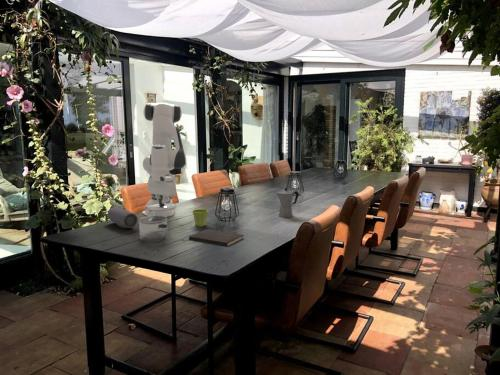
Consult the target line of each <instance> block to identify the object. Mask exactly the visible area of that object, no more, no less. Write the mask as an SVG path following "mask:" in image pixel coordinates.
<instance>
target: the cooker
mask: <svg viewBox="0 0 500 375" xmlns="http://www.w3.org/2000/svg"><path fill="white" fill-rule="evenodd" d="M138 228H139V230H138V231H139V240H140V241H142V242H148V243H149V242H151V243H152V242H161V241H164V240H167V239H168V237H169V236H168V217H165V216H146V215H145V216H143V217H140V218H138Z"/></svg>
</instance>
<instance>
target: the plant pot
mask: <svg viewBox="0 0 500 375" xmlns="http://www.w3.org/2000/svg"><path fill="white" fill-rule="evenodd" d="M191 212H192V214H193V218H194V224H195V225H194V226H196V227H205V226H207V221H208V213H209V210H208V209H205V208H197V209H192V210H191Z"/></svg>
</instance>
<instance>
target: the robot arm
mask: <svg viewBox="0 0 500 375" xmlns="http://www.w3.org/2000/svg"><path fill="white" fill-rule="evenodd" d="M144 105H145V106H144V107H143V115H144V119H146V121H149V122H152V142H151V143H152V146H151V151H150V154H149V155H148V156H146V157H145V158H143V160H142V168H143V170H144V171H145V172H146V173H147V174H148V175H149V176H148V180H147V189H146V190H147V192H148V193H149V194H150V196H151V197H150V198H151V199H150V200H149V201H147V203H146V204H145V210H143V211H141V214H143V215H144V216H145V217H146V216H165V217H167V218H168V217H171V216H174V215H175V214H176V211H175V209H171V210H164V211H153V210H148V208H147V207H148V206H150V205H154V204H159V199H160V198H163V200H162V204H174V202H173V200H172V197H175V196H176V195H177V188H176V187H177V184H176V180H177V178H176V176H175V175H173V174H172V173H170V171H172V170H174V169H177V170H179V169H180V170H181V169H183V168H184V167H185V166H186V164H187V156H186V153H185V151H184V146H183V140H182V136H181V133H180V130H179V126H176V125H175V123H178V122H179V121H180V120H181V119H182V117H183V116H182V114H183V112H182V108H181V107H180V105H178V104H175V103H174V104H172V103H167V102H158V103H157V102H155V103H153V102H148V103H146V104H144ZM172 141H173V142H174V146H175V149H172V144H171V142H172Z"/></svg>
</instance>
